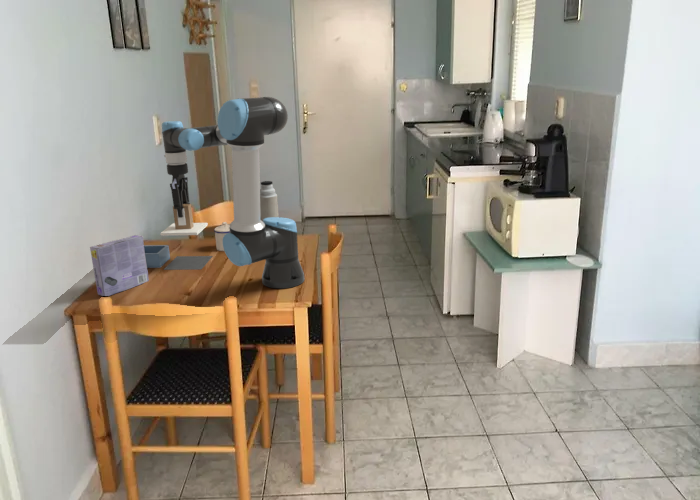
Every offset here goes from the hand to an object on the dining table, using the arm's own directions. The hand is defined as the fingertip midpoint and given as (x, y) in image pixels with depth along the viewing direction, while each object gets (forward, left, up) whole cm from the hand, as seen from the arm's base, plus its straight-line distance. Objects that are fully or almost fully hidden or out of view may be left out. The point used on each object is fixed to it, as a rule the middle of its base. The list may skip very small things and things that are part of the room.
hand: (184, 223), depth 222 cm
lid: (0, 0, -3) cm, 3 cm away
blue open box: (0, +15, -16) cm, 22 cm away
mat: (0, 0, -16) cm, 16 cm away
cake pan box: (-25, +15, -17) cm, 34 cm away
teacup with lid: (+20, -11, -17) cm, 28 cm away
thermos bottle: (+22, -29, -17) cm, 40 cm away
